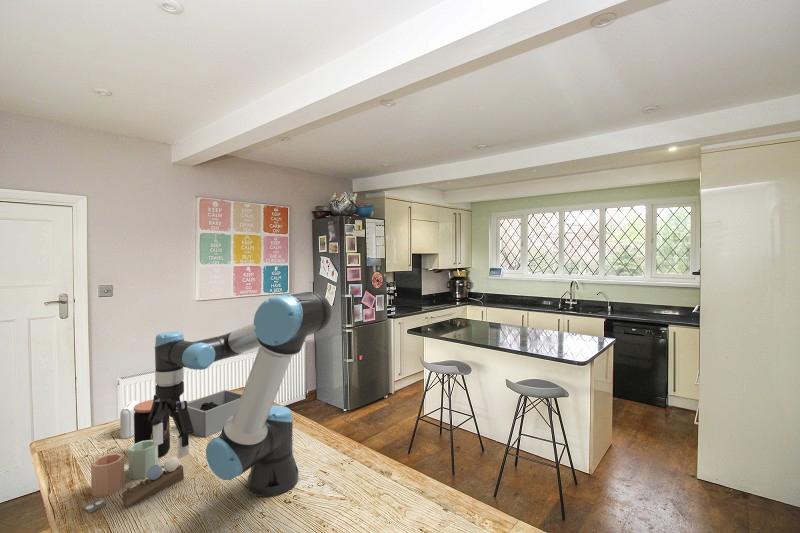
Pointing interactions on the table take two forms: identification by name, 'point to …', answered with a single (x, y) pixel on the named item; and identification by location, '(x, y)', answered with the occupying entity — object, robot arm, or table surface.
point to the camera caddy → (212, 412)
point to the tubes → (119, 471)
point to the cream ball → (171, 464)
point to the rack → (151, 487)
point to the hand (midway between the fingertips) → (170, 450)
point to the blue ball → (154, 472)
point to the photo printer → (127, 419)
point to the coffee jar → (150, 427)
